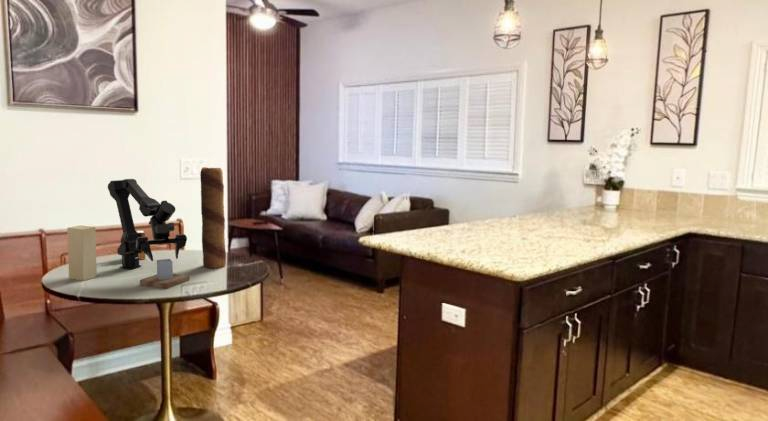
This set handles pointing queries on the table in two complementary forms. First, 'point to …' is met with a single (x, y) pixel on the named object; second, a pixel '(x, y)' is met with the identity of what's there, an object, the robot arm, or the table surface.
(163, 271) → the blue-grey block
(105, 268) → the table surface
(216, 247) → the wafer roll
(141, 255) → the small box
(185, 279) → the walnut block
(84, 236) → the tall beige block
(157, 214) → the robot arm
